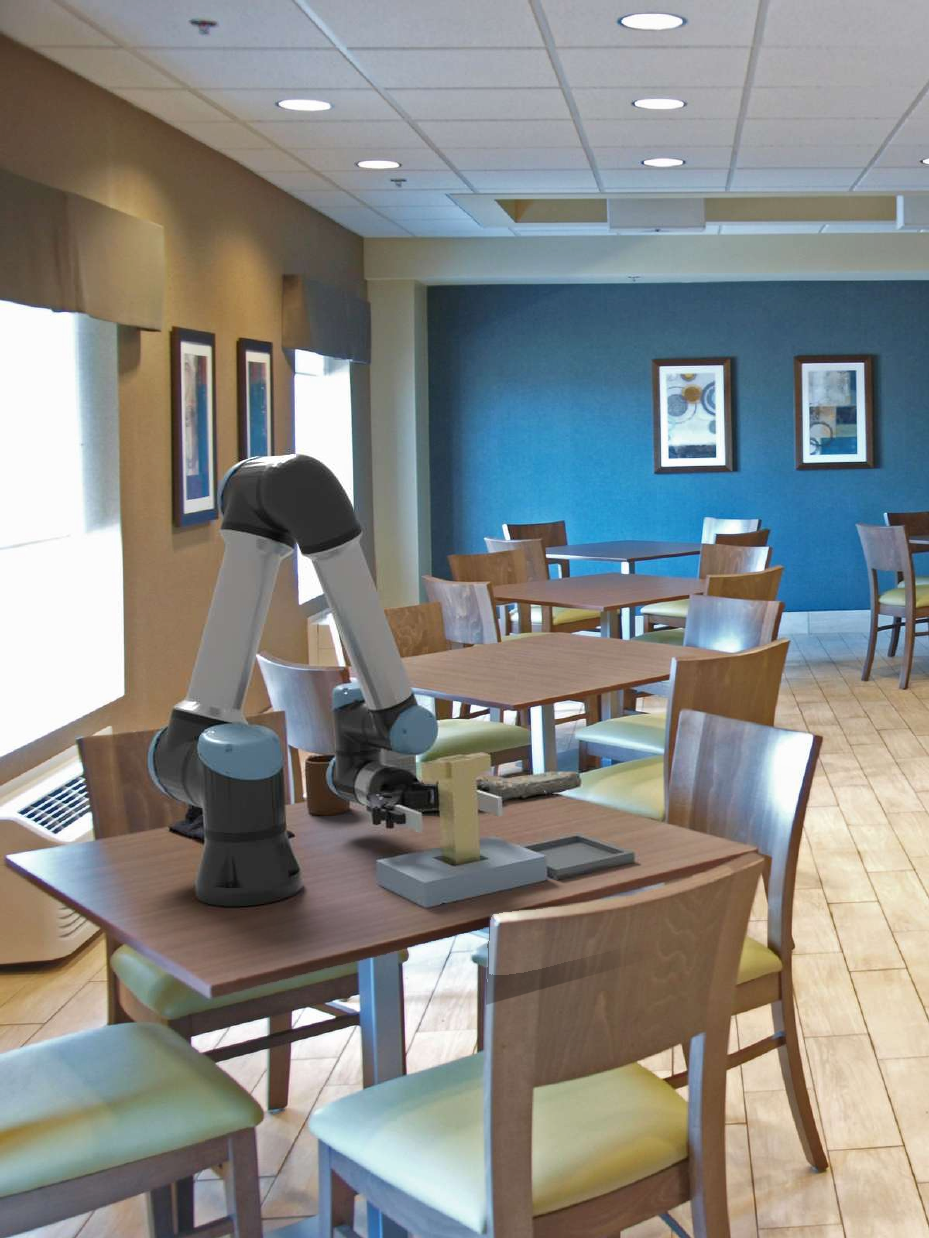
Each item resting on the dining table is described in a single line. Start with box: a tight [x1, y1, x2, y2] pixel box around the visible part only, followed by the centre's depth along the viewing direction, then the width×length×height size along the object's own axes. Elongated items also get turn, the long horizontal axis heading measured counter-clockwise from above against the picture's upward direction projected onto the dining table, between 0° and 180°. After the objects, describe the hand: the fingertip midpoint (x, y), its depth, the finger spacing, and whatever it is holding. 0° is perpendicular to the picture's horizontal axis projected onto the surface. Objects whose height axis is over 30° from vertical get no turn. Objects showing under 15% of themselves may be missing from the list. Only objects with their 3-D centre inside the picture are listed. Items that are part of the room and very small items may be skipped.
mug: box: [304, 754, 351, 816], centre depth 244 cm, size 12×8×9 cm, turn 28°
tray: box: [520, 833, 636, 881], centre depth 205 cm, size 14×14×2 cm
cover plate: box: [375, 835, 548, 909], centre depth 197 cm, size 20×14×4 cm
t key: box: [420, 751, 492, 867], centre depth 196 cm, size 10×4×18 cm, turn 121°
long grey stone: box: [414, 770, 582, 813], centre depth 247 cm, size 35×5×10 cm
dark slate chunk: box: [168, 804, 295, 841], centre depth 231 cm, size 15×22×5 cm
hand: (460, 814), depth 198 cm, fingers open, 13 cm apart
